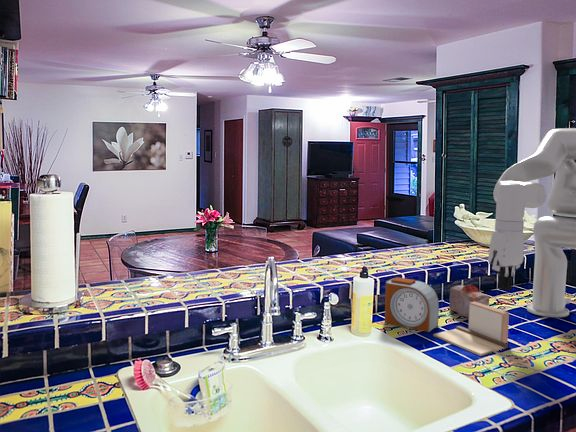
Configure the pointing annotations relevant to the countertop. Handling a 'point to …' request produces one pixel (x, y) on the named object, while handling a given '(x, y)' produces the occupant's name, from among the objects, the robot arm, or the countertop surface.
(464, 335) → the tan flat rectangular panel
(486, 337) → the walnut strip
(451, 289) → the food item
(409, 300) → the alarm clock
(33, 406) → the countertop surface
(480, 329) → the tile
